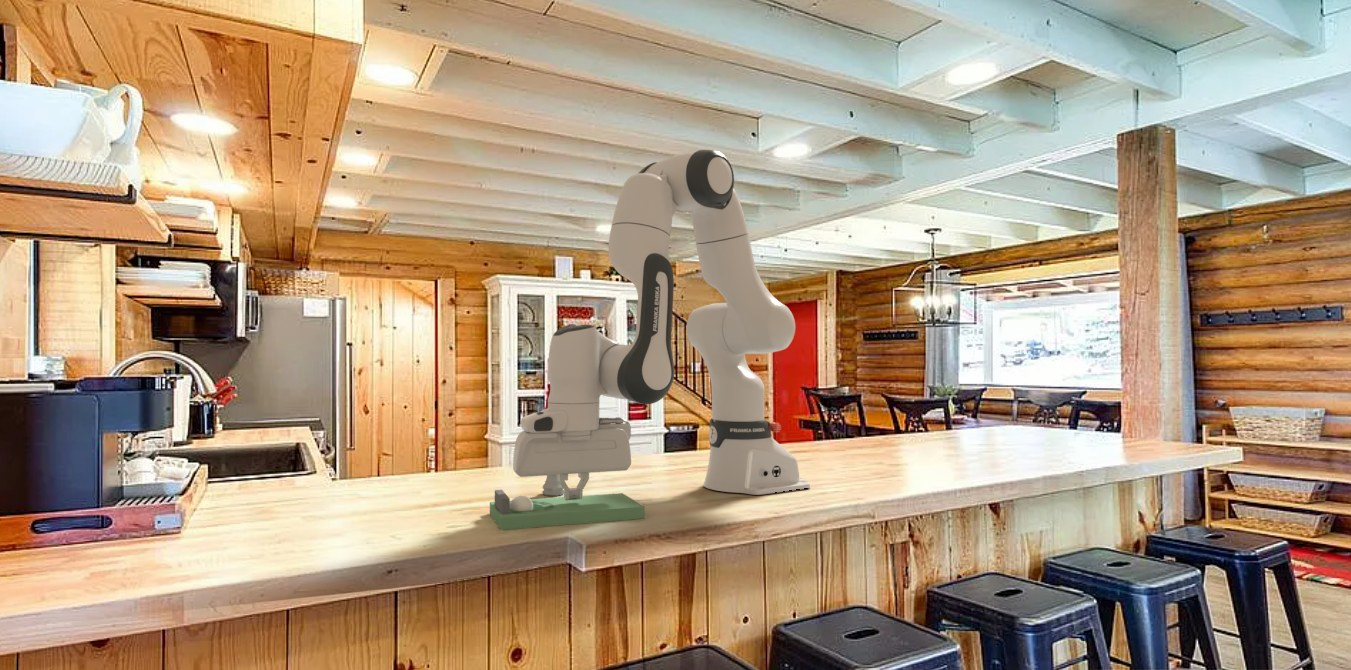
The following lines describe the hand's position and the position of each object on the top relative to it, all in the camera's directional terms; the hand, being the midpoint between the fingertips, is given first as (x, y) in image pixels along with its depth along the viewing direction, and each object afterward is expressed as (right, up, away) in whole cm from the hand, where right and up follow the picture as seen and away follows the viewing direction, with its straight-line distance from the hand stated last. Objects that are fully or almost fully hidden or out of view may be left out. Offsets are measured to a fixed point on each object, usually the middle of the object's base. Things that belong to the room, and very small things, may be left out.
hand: (573, 499), depth 123 cm
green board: (-1, -3, -1) cm, 3 cm away
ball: (-8, -1, -4) cm, 9 cm away
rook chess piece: (-6, -3, +18) cm, 19 cm away
